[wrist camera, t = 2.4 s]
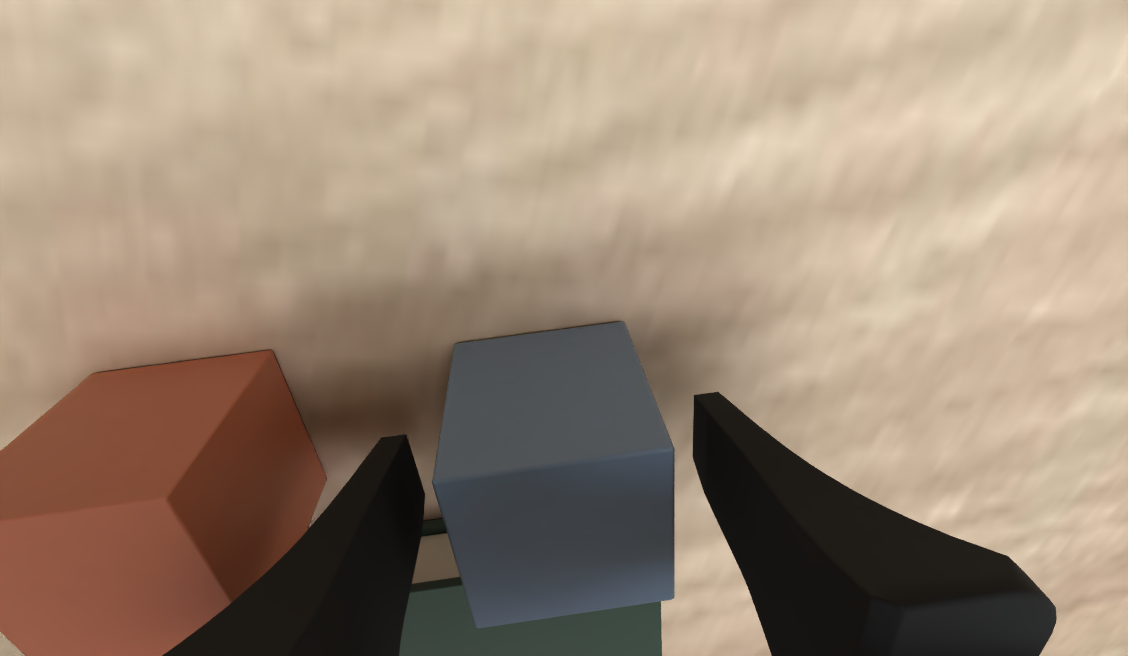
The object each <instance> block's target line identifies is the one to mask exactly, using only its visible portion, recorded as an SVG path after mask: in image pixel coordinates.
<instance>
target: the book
mask: <svg viewBox="0 0 1128 656" xmlns="http://www.w3.org/2000/svg"><path fill="white" fill-rule="evenodd" d="M399 656H662V639H661V601H658V602H652V603H645V604H638V605H632V606H625V607H618V608H611V609H605V610H598V611H591V612H584V613H578V614H571V615H564V616H558V617H551V618H544V619H537V620H531V621H524V622H517V623H510V624H504V625H497V626H490V627H484V628H476V627H475V625H474V621H473V618H472V615H471V611H470V608H469V605H468V601H467V598H466V595H465V591H464V588H463V585H462V581H461V578H460V575H459V571H458V568H457V565H456V561H455V558H454V554H453V551H452V548H451V544H450V541H449V538H448V534H447V531H446V528H445V524H444V521H443V519H437V520H430V521H423V528H422V536H421V541H420V546H419V551H418V556H417V561H416V566H415V570H414V575H413V580H412V585H411V590H410V594H409V599H408V604H407V609H406V614H405V618H404V624H403V630H402V636H401V643H400V652H399Z"/></svg>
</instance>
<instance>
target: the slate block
mask: <svg viewBox="0 0 1128 656" xmlns="http://www.w3.org/2000/svg"><path fill="white" fill-rule="evenodd" d="M432 484H433V488H434V491H435V494H436V498H437V501H438V504H439V508H440V511H441V514H442V518H443V521H444V524H445V528H446V531H447V534H448V538H449V541H450V544H451V548H452V551H453V554H454V558H455V561H456V565H457V568H458V571H459V575H460V578H461V581H462V585H463V588H464V591H465V595H466V598H467V601H468V605H469V608H470V611H471V615H472V618H473V621H474V625H475V627H476V628H484V627H490V626H497V625H504V624H510V623H517V622H524V621H531V620H537V619H544V618H551V617H558V616H564V615H571V614H578V613H584V612H591V611H598V610H605V609H611V608H618V607H625V606H632V605H638V604H645V603H652V602H658V601H665V600H672V599H673V598H674V447H673V444H672V441H671V439H670V436H669V434H668V431H667V429H666V426H665V424H664V421H663V419H662V416H661V414H660V411H659V409H658V406H657V403H656V401H655V398H654V396H653V393H652V391H651V388H650V386H649V383H648V381H647V378H646V376H645V373H644V370H643V368H642V365H641V363H640V360H639V358H638V355H637V353H636V350H635V348H634V345H633V343H632V340H631V338H630V335H629V332H628V330H627V327H626V325H625V323H624V322H614V323H607V324H599V325H591V326H584V327H576V328H569V329H561V330H554V331H546V332H539V333H531V334H523V335H516V336H508V337H501V338H493V339H486V340H478V341H471V342H463V343H457V344H455V345H454V350H453V356H452V362H451V369H450V375H449V381H448V387H447V393H446V399H445V406H444V412H443V418H442V424H441V430H440V436H439V443H438V449H437V455H436V461H435V467H434V473H433V479H432Z"/></svg>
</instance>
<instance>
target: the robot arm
mask: <svg viewBox="0 0 1128 656" xmlns="http://www.w3.org/2000/svg"><path fill="white" fill-rule="evenodd" d="M693 459H694V462H695V466H696V469H697V472H698V475H699V478H700V481H701V484H702V487H703V490H704V493H705V495H706V498H707V500H708V502H709V504H710V506H711V508H712V511H713V513H714V515H715V517H716V519H717V521H718V523H719V526H720V528H721V530H722V532H723V534H724V536H725V538H726V540H727V542H728V545H729V547H730V549H731V551H732V553H733V555H734V557H735V559H736V562H737V564H738V566H739V568H740V570H741V572H742V575H743V577H744V579H745V582H746V584H747V586H748V589H749V591H750V594H751V597H752V600H753V603H754V605H755V608H756V611H757V614H758V617H759V620H760V622H761V625H762V628H763V631H764V634H765V637H766V640H767V643H768V646H769V649H770V652H771V655H772V656H1039V655H1040V653H1041V652H1042V650H1043V648H1044V646H1045V645H1046V643H1047V641H1048V639H1049V638H1050V636H1051V634H1052V632H1053V629H1054V626H1055V624H1056V618H1057V617H1056V607H1055V606H1054V605H1053V603H1052V602H1051V601H1050V599H1049V598H1048V597H1047V596H1046V595H1045V594H1044V593H1043V592H1042V591H1041V590H1040V588H1039V587H1038V586H1037V585H1036V584H1035V583H1034V582H1033V581H1032V580H1031V579H1030V578H1029V577H1028V575H1027V574H1026V573H1025V572H1024V571H1023V570H1022V569H1021V568H1020V567H1019V566H1018V565H1017V564H1016V563H1015V562H1013V561H1012V560H1011V559H1010V558H1009V557H1008V556H1006V555H1003V554H1000V553H997V552H994V551H992V550H989V549H986V548H983V547H980V546H978V545H975V544H972V543H969V542H966V541H964V540H961V539H958V538H955V537H953V536H950V535H947V534H945V533H943V532H940V531H938V530H935V529H933V528H931V527H928V526H926V525H923V524H921V523H919V522H916V521H914V520H912V519H910V518H907V517H905V516H903V515H901V514H899V513H897V512H894V511H892V510H890V509H888V508H886V507H884V506H882V505H880V504H878V503H876V502H874V501H872V500H870V499H868V498H866V497H865V496H863V495H861V494H859V493H857V492H855V491H853V490H852V489H850V488H848V487H847V486H845V485H843V484H841V483H840V482H838V481H836V480H835V479H833V478H831V477H830V476H828V475H826V474H825V473H823V472H821V471H820V470H818V469H817V468H815V467H814V466H812V465H811V464H809V463H808V462H806V461H805V460H803V459H802V458H801V457H799V456H798V455H796V454H795V453H793V452H792V451H790V450H789V449H788V448H786V447H785V446H784V445H782V444H781V443H780V442H779V441H777V440H776V439H775V438H773V437H772V436H771V435H770V434H768V433H767V432H766V431H764V430H763V429H762V428H761V427H759V426H758V425H757V424H756V423H755V422H753V421H752V420H751V419H750V418H749V417H747V416H746V415H745V414H744V413H743V412H741V411H740V410H739V409H738V408H737V407H736V406H734V405H733V404H732V403H731V402H730V401H729V400H727V399H726V398H725V397H724V396H723V395H721V394H720V393H719V392H714V393H706V394H699V395H694V422H693ZM424 501H425V493H424V489H423V486H422V483H421V480H420V477H419V473H418V470H417V467H416V464H415V461H414V457H413V454H412V451H411V448H410V445H409V442H408V438H407V435H406V434H404V435H397V436H390V437H382V438H381V439H380V440H379V441H378V443H377V444H376V445H375V447H374V448H373V449H372V450H371V452H370V453H369V454H368V456H367V457H366V458H365V460H364V461H363V462H362V464H361V465H360V466H359V468H358V469H357V470H356V472H355V473H354V474H353V476H352V477H351V478H350V480H349V481H348V482H347V483H346V485H345V486H344V487H343V488H342V490H341V491H340V492H339V494H338V495H337V496H336V497H335V499H334V500H333V501H332V502H331V504H330V505H329V506H328V507H327V508H326V510H325V511H324V512H323V513H322V514H321V515H320V517H319V518H318V519H317V520H316V521H315V522H314V523H313V525H312V526H311V527H310V528H309V529H308V530H307V532H306V533H305V534H304V535H303V536H302V537H301V538H300V539H299V540H298V541H297V542H296V543H295V544H294V545H293V546H292V548H291V549H290V550H289V551H288V552H287V553H286V554H284V555H283V556H282V557H281V558H280V559H279V560H278V561H277V562H276V563H275V564H274V565H273V566H272V567H271V568H270V569H269V570H268V571H267V572H266V573H265V574H264V575H263V576H261V577H260V578H259V579H258V580H257V581H256V582H255V583H253V584H252V585H251V586H250V587H249V588H248V589H247V590H245V591H244V592H243V593H242V594H241V595H240V596H239V597H237V598H236V599H235V600H234V601H233V602H232V603H231V604H229V605H228V606H227V607H226V608H224V609H223V610H222V611H221V612H219V613H218V614H217V615H216V616H214V617H213V618H212V619H211V620H209V621H208V622H207V623H206V624H204V625H203V626H202V627H200V628H199V629H198V630H196V631H195V632H194V633H192V634H191V635H190V636H188V637H187V638H186V639H184V640H183V641H182V642H180V643H179V644H178V645H176V646H175V647H173V648H172V649H171V650H169V651H168V652H166V653H165V654H163V655H162V656H399V652H400V643H401V636H402V630H403V624H404V618H405V614H406V609H407V604H408V599H409V594H410V590H411V585H412V580H413V575H414V570H415V566H416V561H417V556H418V551H419V546H420V541H421V536H422V528H423V516H424Z"/></svg>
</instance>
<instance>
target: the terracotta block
mask: <svg viewBox="0 0 1128 656" xmlns="http://www.w3.org/2000/svg"><path fill="white" fill-rule="evenodd" d="M326 480H327V478H326V476H325V473H324V471H323V469H322V466H321V464H320V462H319V459H318V457H317V455H316V452H315V450H314V448H313V445H312V443H311V441H310V438H309V436H308V434H307V431H306V429H305V426H304V424H303V422H302V419H301V417H300V415H299V412H298V410H297V408H296V405H295V403H294V401H293V398H292V396H291V394H290V391H289V389H288V387H287V384H286V382H285V380H284V377H283V375H282V373H281V370H280V368H279V366H278V363H277V361H276V359H275V356H274V354H273V352H272V350H268V351H261V352H253V353H245V354H238V355H230V356H223V357H215V358H207V359H200V360H192V361H184V362H177V363H169V364H162V365H154V366H146V367H139V368H131V369H124V370H116V371H108V372H101V373H93V374H91V375H90V376H89V377H88V378H86V379H85V380H84V381H83V382H82V383H80V384H79V385H78V386H77V387H76V388H75V389H73V390H72V391H71V392H70V393H69V394H67V395H66V396H65V397H64V398H63V399H62V400H60V401H59V402H58V403H57V404H56V405H54V406H53V407H52V408H51V409H50V410H49V411H47V412H46V413H45V414H44V415H43V416H41V417H40V418H39V419H38V420H37V421H36V422H34V423H33V424H32V425H31V426H30V427H28V428H27V429H26V430H25V431H24V432H23V433H21V434H20V435H19V436H18V437H17V438H15V439H14V440H13V441H12V442H11V443H10V444H8V445H7V446H6V447H5V448H4V449H2V450H1V451H0V632H1V633H2V634H3V635H4V636H5V637H7V638H8V639H9V640H10V641H11V642H12V643H13V644H14V645H15V646H16V647H17V648H18V649H19V650H20V651H21V652H22V653H23V654H24V655H25V656H162V655H163V654H165V653H166V652H168V651H169V650H171V649H172V648H173V647H175V646H176V645H178V644H179V643H180V642H182V641H183V640H184V639H186V638H187V637H188V636H190V635H191V634H192V633H194V632H195V631H196V630H198V629H199V628H200V627H202V626H203V625H204V624H206V623H207V622H208V621H209V620H211V619H212V618H213V617H214V616H216V615H217V614H218V613H219V612H221V611H222V610H223V609H224V608H226V607H227V606H228V605H229V604H231V603H232V602H233V601H234V600H235V599H236V598H237V597H239V596H240V595H241V594H242V593H243V592H244V591H245V590H247V589H248V588H249V587H250V586H251V585H252V584H253V583H255V582H256V581H257V580H258V579H259V578H260V577H261V576H263V575H264V574H265V573H266V572H267V571H268V570H269V569H270V568H271V567H272V566H273V565H274V564H275V563H276V562H277V561H278V560H279V559H280V558H281V557H282V556H283V555H284V554H286V553H287V552H288V551H289V550H290V549H291V548H292V546H293V545H294V544H295V543H296V542H297V541H298V540H299V539H300V538H301V537H302V536H303V535H304V534H305V533H306V531H307V528H308V526H309V523H310V520H311V518H312V515H313V513H314V510H315V508H316V505H317V503H318V500H319V498H320V495H321V493H322V490H323V487H324V485H325V482H326Z"/></svg>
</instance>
